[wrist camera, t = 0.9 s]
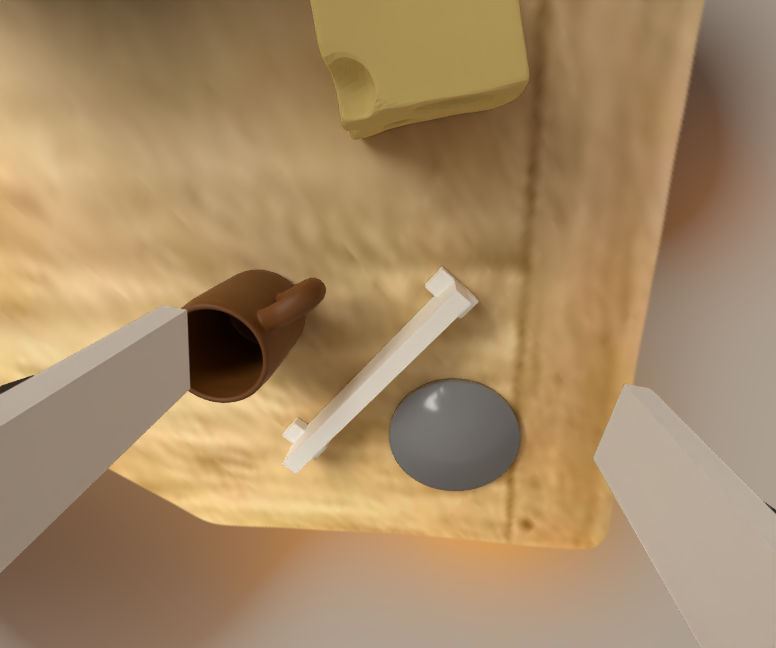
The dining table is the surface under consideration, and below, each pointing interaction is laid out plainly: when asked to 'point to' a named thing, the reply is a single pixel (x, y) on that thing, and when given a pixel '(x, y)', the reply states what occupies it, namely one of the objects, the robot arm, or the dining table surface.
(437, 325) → the rail
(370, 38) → the cheese
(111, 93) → the dining table surface
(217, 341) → the mug
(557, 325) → the dining table surface
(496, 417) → the disc
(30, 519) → the robot arm
